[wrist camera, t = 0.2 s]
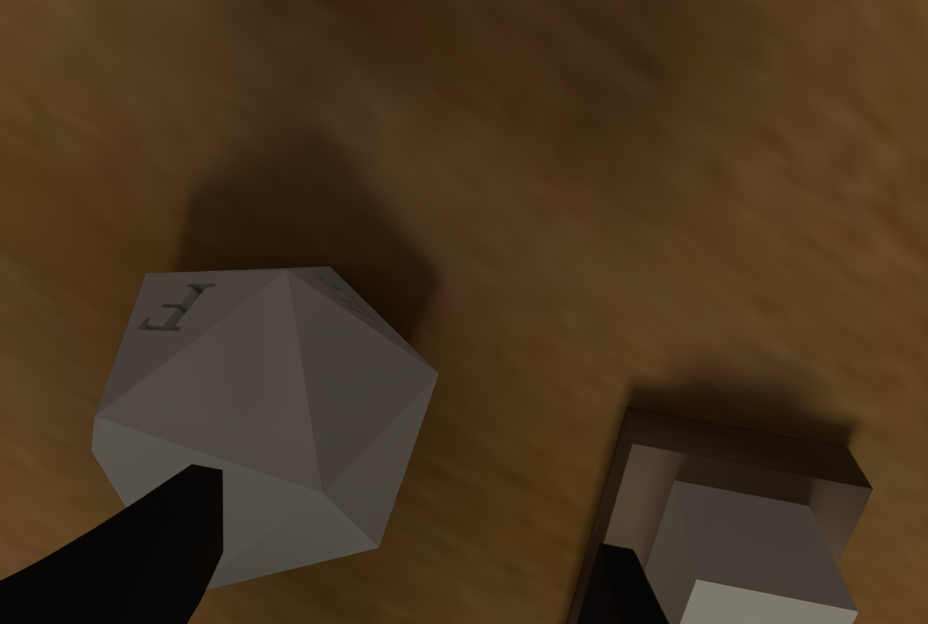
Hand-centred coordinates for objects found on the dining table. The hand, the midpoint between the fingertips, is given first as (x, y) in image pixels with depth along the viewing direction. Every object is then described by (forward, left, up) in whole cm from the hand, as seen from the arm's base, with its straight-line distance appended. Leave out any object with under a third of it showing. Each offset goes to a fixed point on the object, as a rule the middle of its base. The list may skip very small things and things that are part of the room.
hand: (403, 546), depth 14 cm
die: (-2, +5, -10) cm, 12 cm away
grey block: (-5, -9, -8) cm, 13 cm away
